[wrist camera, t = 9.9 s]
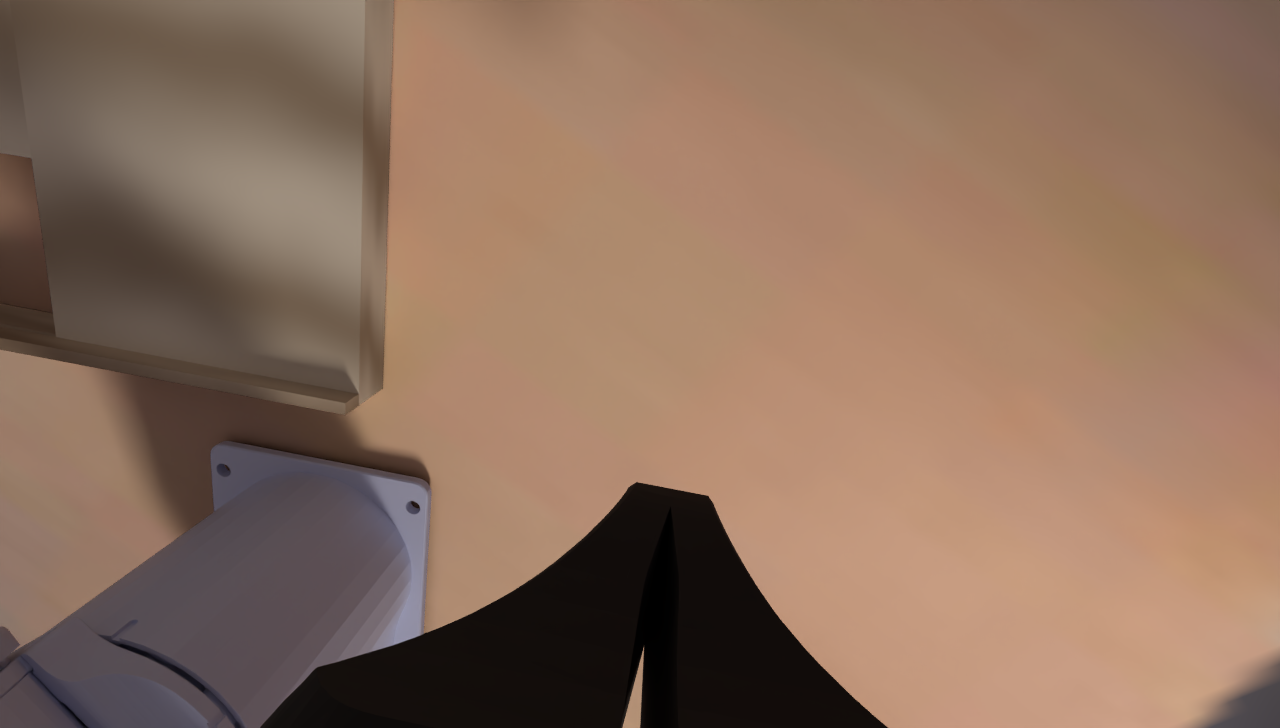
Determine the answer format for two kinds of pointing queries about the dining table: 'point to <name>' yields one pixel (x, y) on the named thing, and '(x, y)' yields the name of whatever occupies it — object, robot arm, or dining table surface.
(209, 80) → the wooden tray
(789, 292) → the dining table surface
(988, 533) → the dining table surface
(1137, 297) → the dining table surface
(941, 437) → the dining table surface
